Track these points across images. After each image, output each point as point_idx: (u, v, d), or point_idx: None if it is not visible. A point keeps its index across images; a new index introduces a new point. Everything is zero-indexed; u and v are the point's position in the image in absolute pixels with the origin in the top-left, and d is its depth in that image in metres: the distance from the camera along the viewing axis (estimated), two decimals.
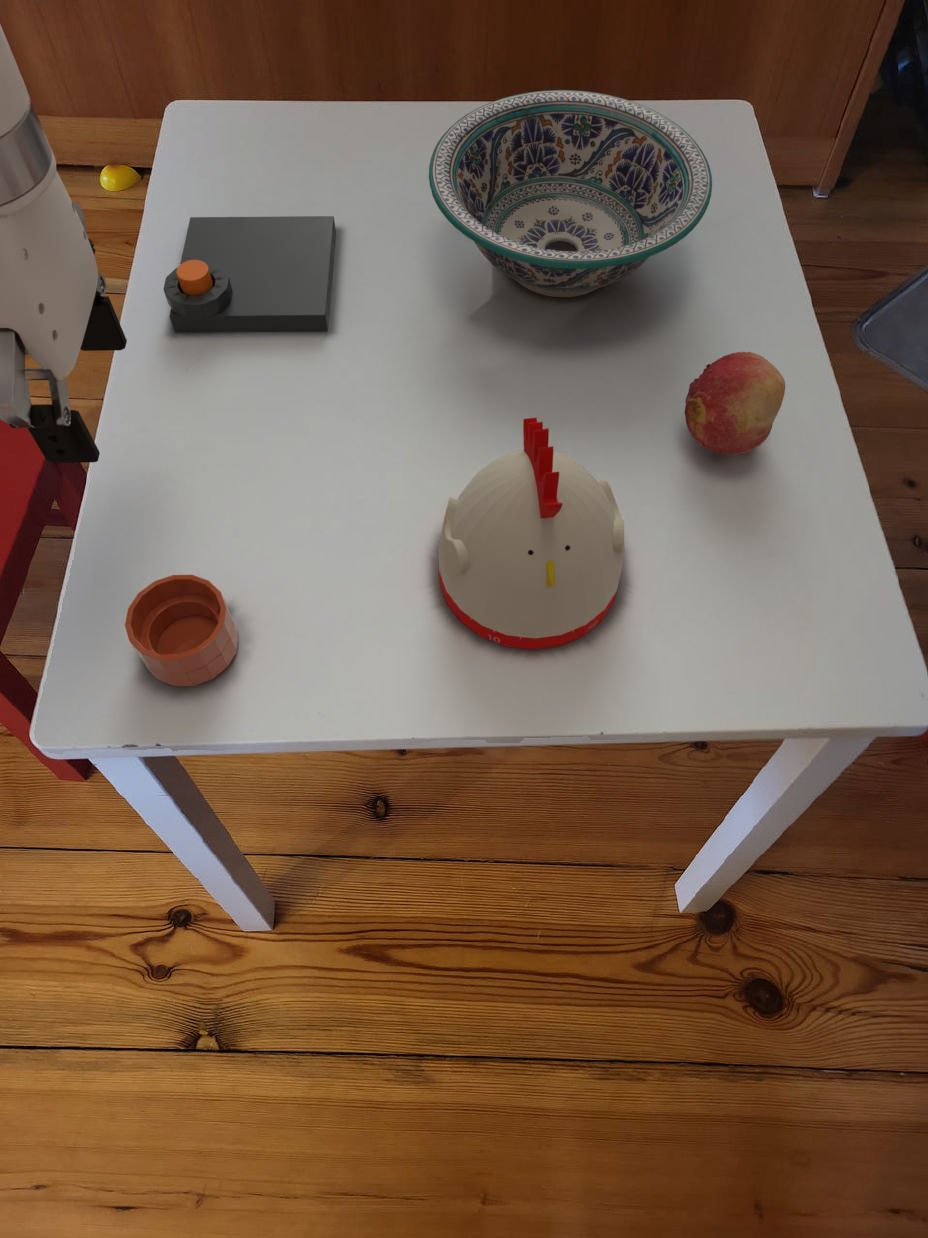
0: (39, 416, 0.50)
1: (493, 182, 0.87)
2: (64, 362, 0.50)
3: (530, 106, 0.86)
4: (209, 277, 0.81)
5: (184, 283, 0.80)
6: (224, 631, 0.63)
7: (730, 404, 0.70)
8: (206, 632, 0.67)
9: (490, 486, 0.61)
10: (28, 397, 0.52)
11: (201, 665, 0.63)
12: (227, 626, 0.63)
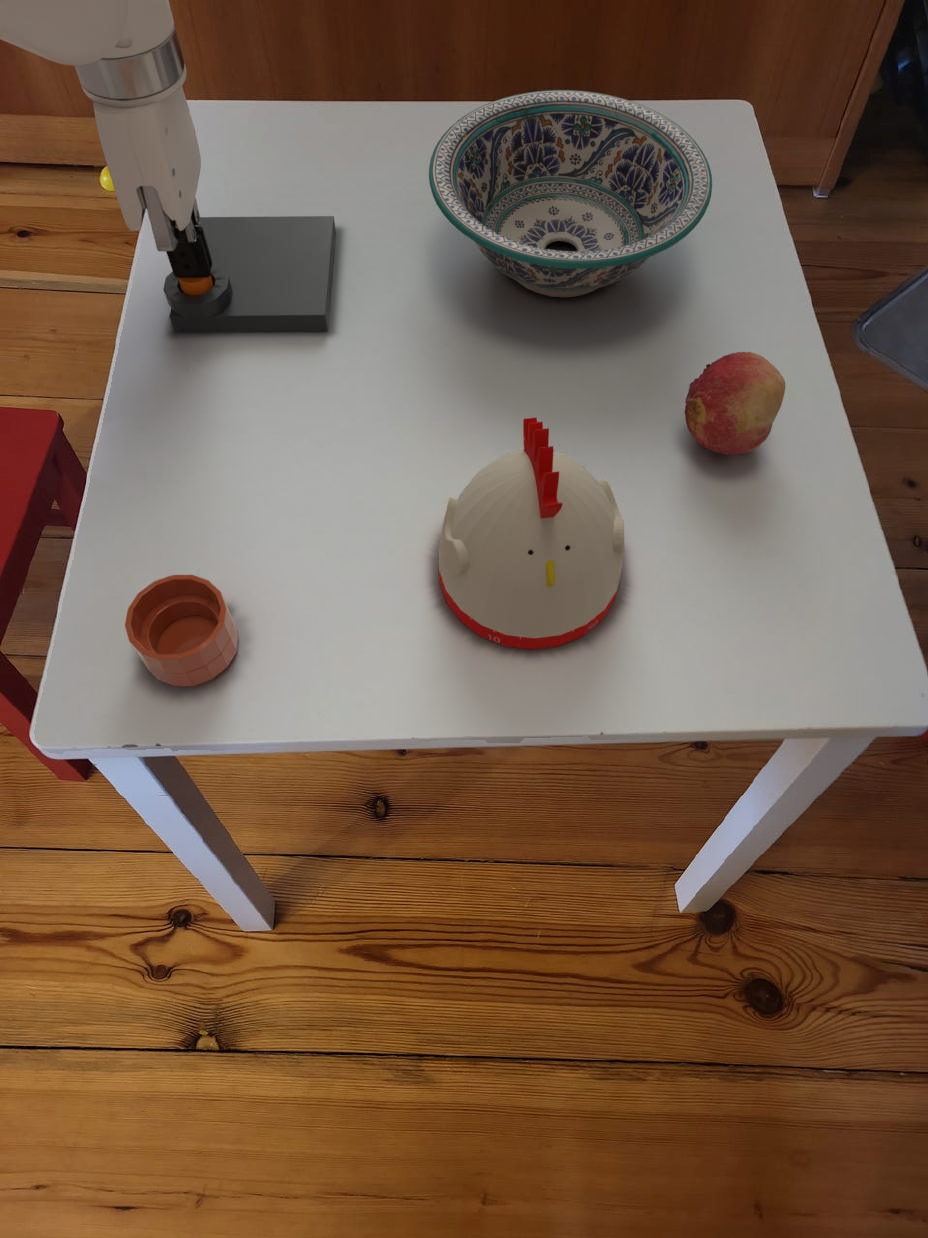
0: (180, 230, 0.74)
1: (493, 182, 0.87)
2: (184, 216, 0.71)
3: (530, 106, 0.86)
4: (209, 280, 0.81)
5: (185, 286, 0.80)
6: (224, 631, 0.63)
7: (730, 404, 0.70)
8: (206, 632, 0.67)
9: (490, 486, 0.61)
10: None
11: (201, 665, 0.63)
12: (227, 626, 0.63)
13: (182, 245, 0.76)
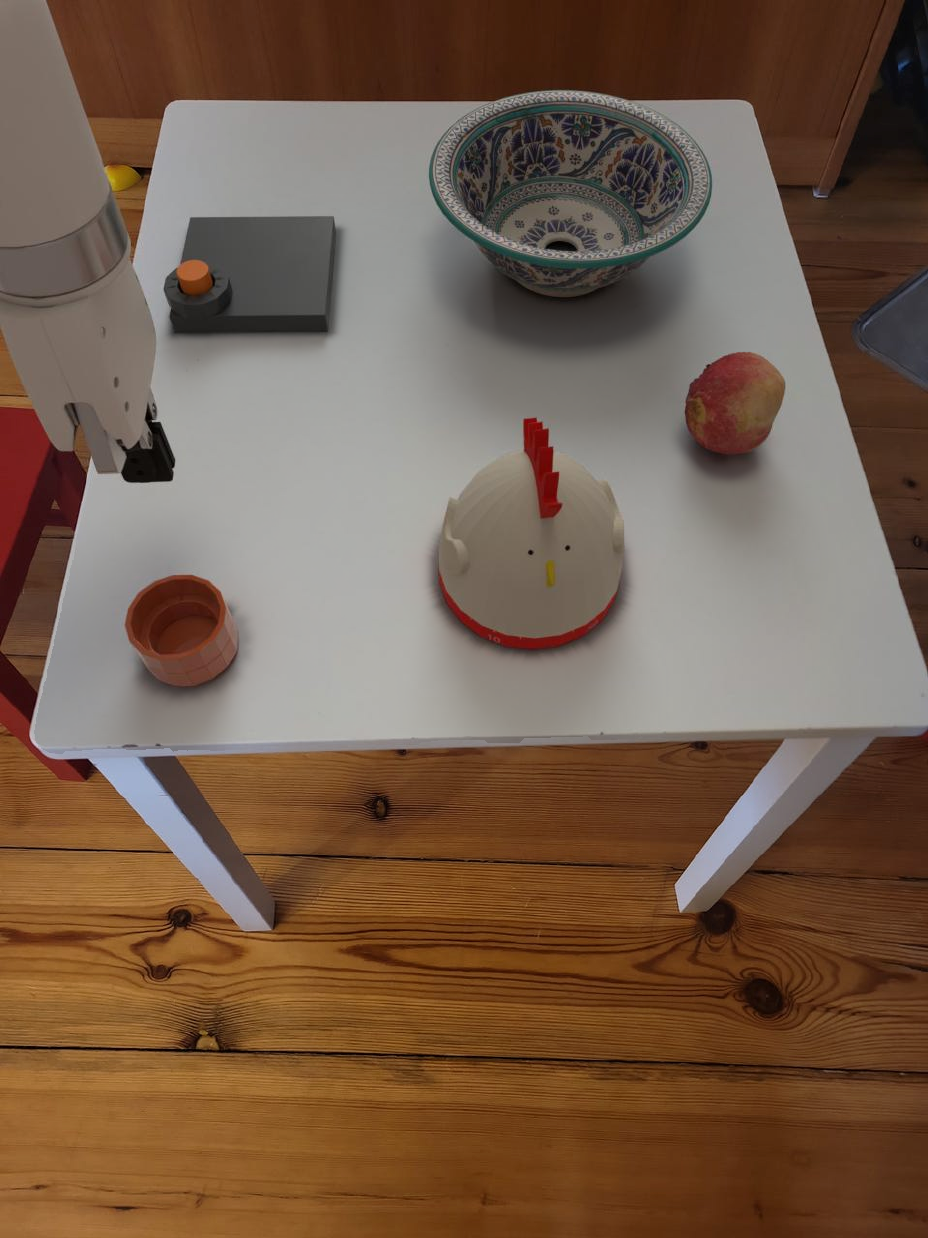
0: None
1: (493, 182, 0.87)
2: (134, 431, 0.51)
3: (530, 106, 0.86)
4: (209, 277, 0.81)
5: (184, 284, 0.80)
6: (224, 631, 0.63)
7: (730, 404, 0.70)
8: (206, 632, 0.67)
9: (490, 486, 0.61)
10: None
11: (201, 665, 0.63)
12: (227, 626, 0.63)
13: (133, 451, 0.56)
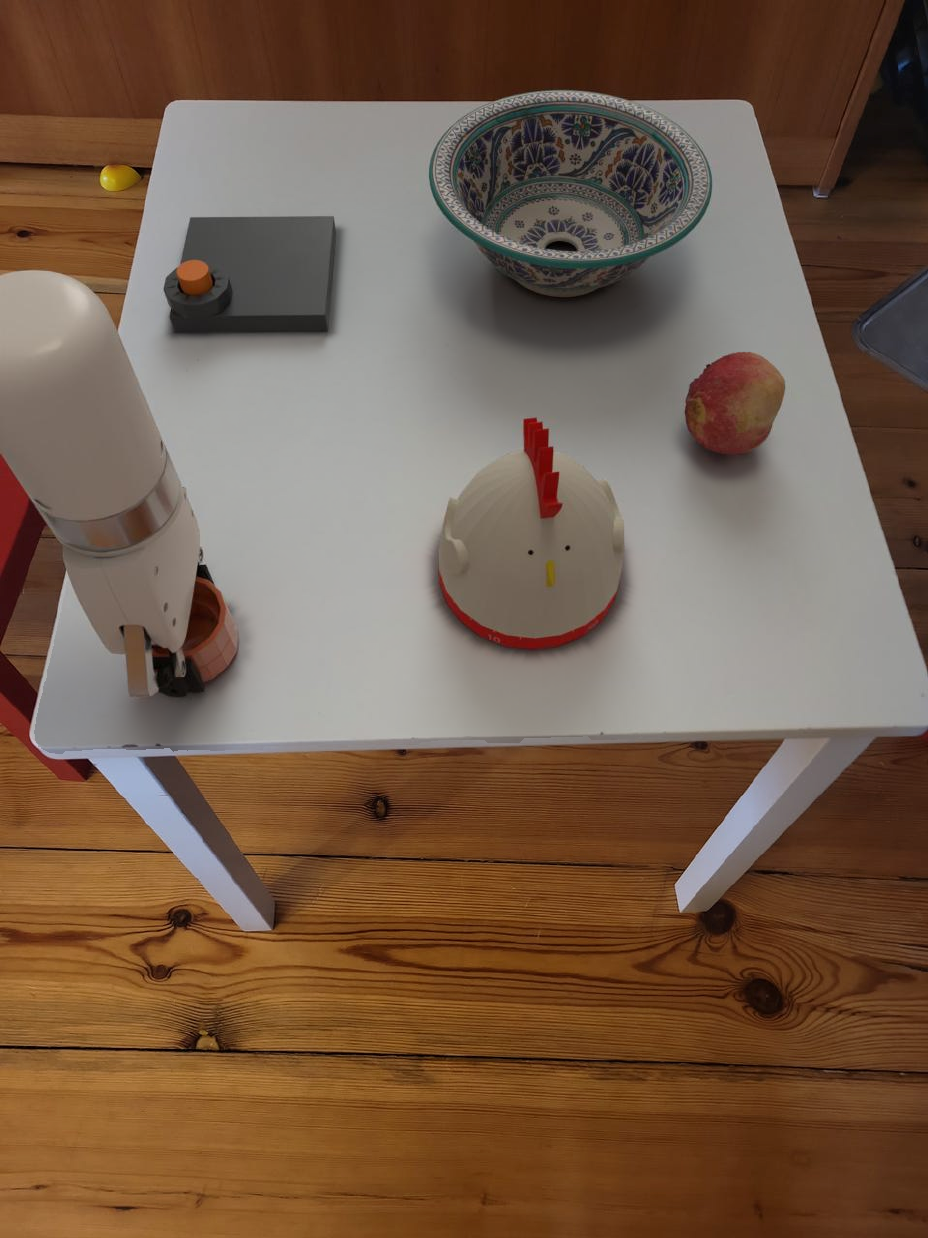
0: (164, 680, 0.57)
1: (493, 182, 0.87)
2: (179, 639, 0.57)
3: (530, 106, 0.86)
4: (209, 277, 0.81)
5: (184, 284, 0.80)
6: (224, 631, 0.63)
7: (730, 404, 0.70)
8: (207, 632, 0.67)
9: (490, 486, 0.61)
10: None
11: (201, 665, 0.63)
12: (227, 626, 0.63)
13: None
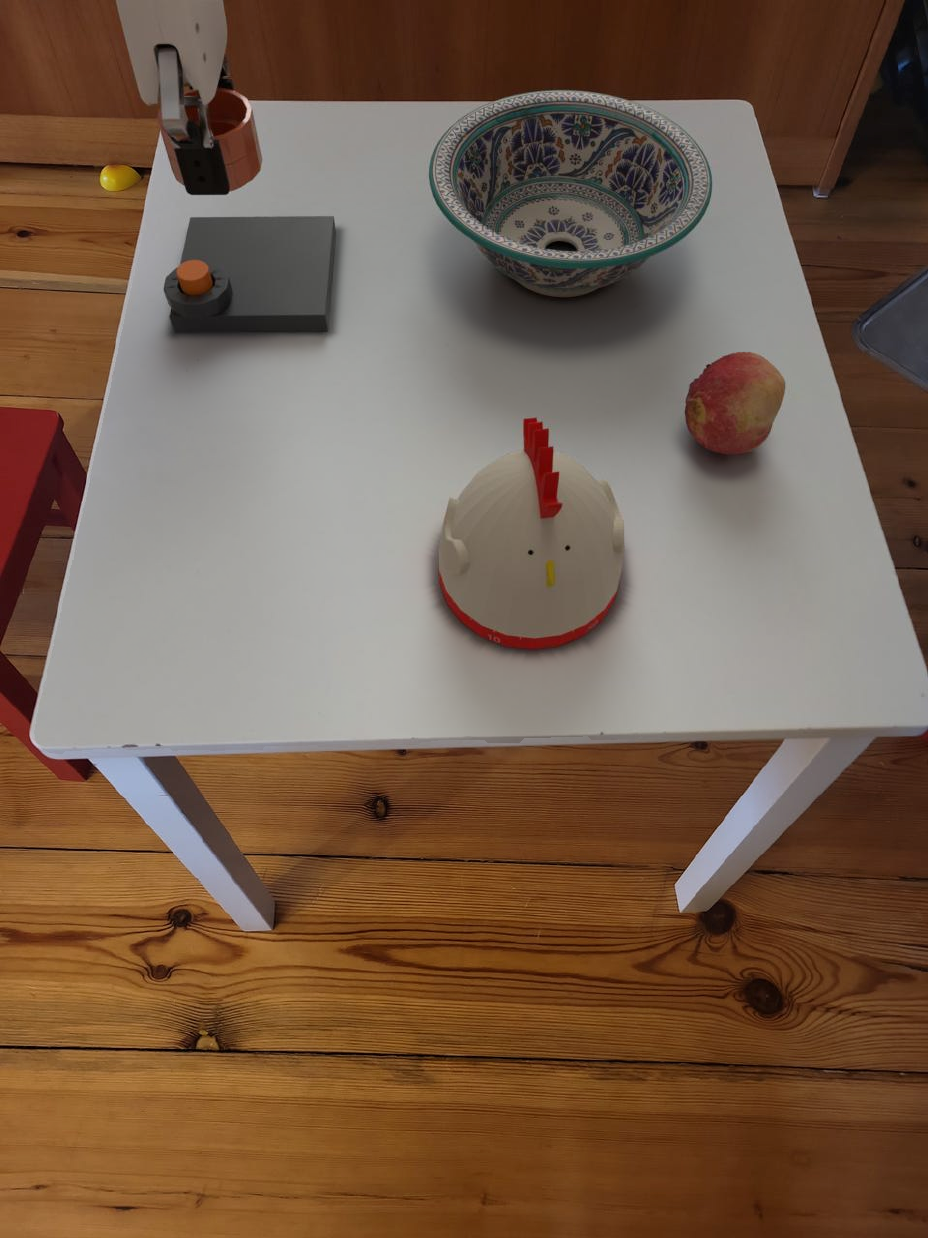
0: (194, 129, 0.61)
1: (493, 182, 0.87)
2: (209, 86, 0.61)
3: (530, 106, 0.86)
4: (209, 277, 0.81)
5: (184, 284, 0.80)
6: (250, 129, 0.67)
7: (730, 404, 0.70)
8: None
9: (490, 486, 0.61)
10: None
11: (228, 160, 0.67)
12: (253, 127, 0.67)
13: (196, 151, 0.64)
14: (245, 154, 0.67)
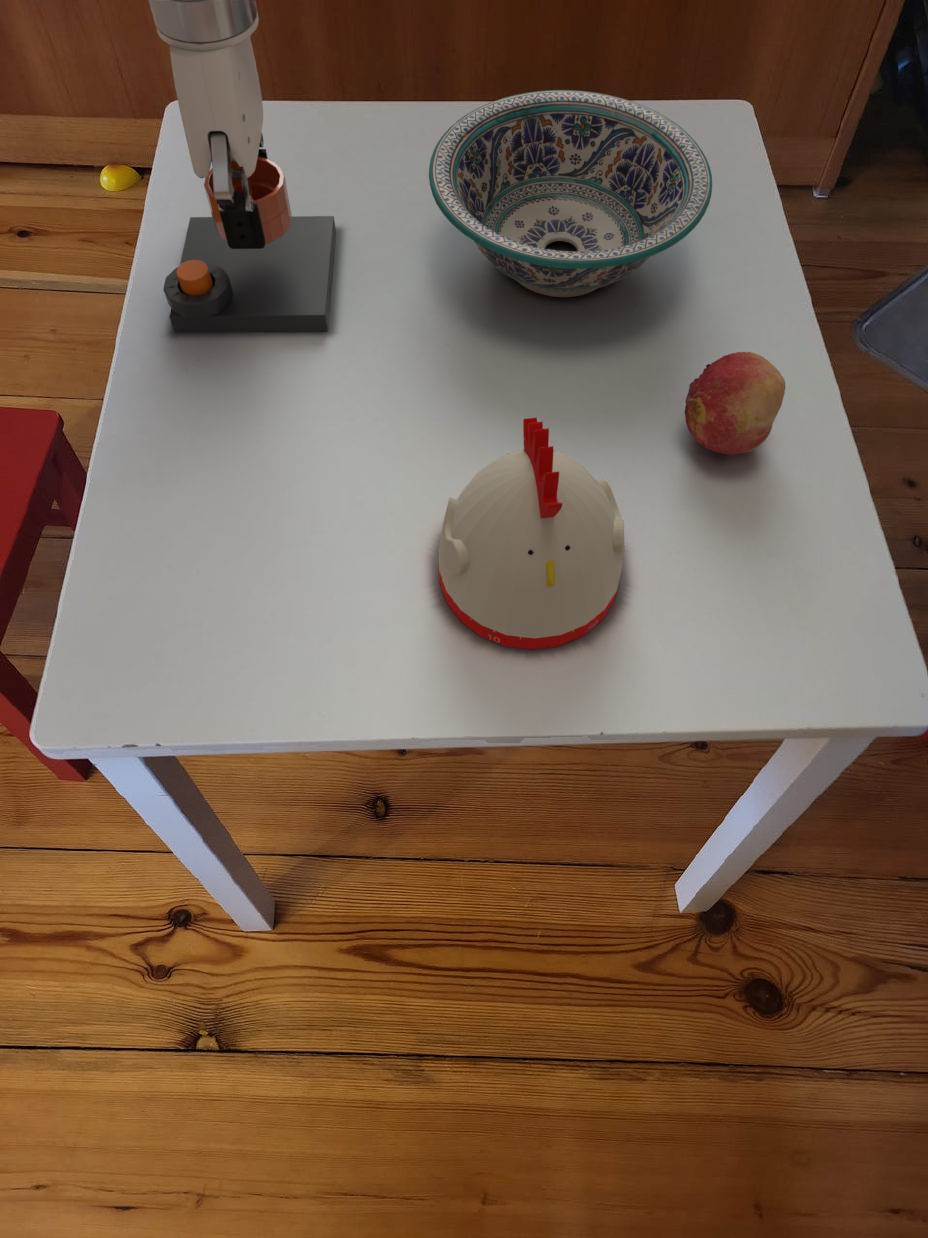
0: (239, 198, 0.73)
1: (493, 182, 0.87)
2: (251, 162, 0.72)
3: (530, 106, 0.86)
4: (209, 277, 0.81)
5: (184, 284, 0.80)
6: (283, 193, 0.79)
7: (730, 404, 0.70)
8: None
9: (490, 486, 0.61)
10: None
11: (264, 219, 0.78)
12: (285, 191, 0.79)
13: (239, 214, 0.76)
14: (278, 214, 0.79)
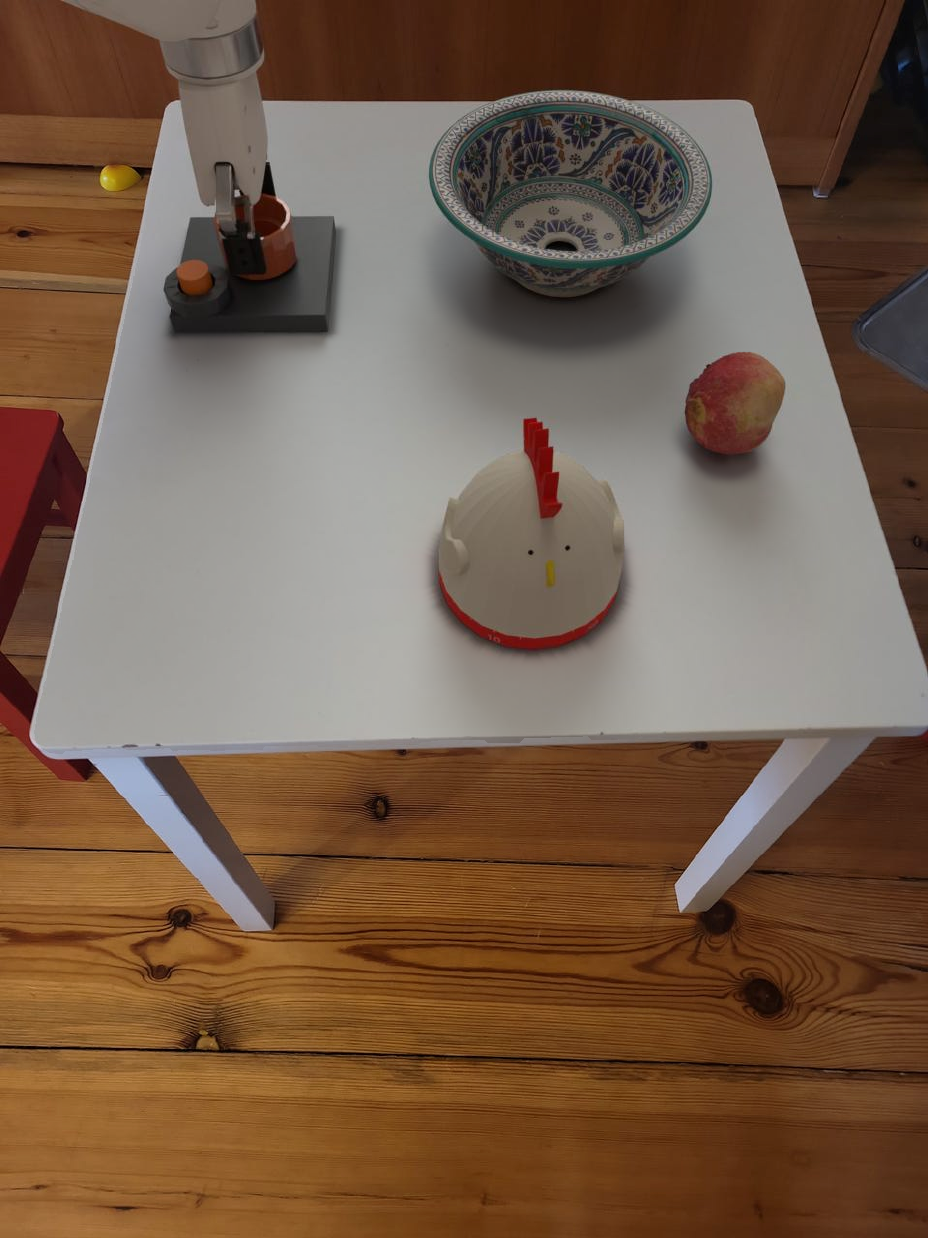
0: (241, 226, 0.74)
1: (493, 182, 0.87)
2: (256, 191, 0.75)
3: (530, 106, 0.86)
4: (209, 277, 0.81)
5: (184, 284, 0.80)
6: (289, 229, 0.82)
7: (730, 404, 0.70)
8: None
9: (490, 486, 0.61)
10: None
11: (271, 255, 0.81)
12: (291, 227, 0.82)
13: (241, 241, 0.77)
14: (285, 249, 0.82)
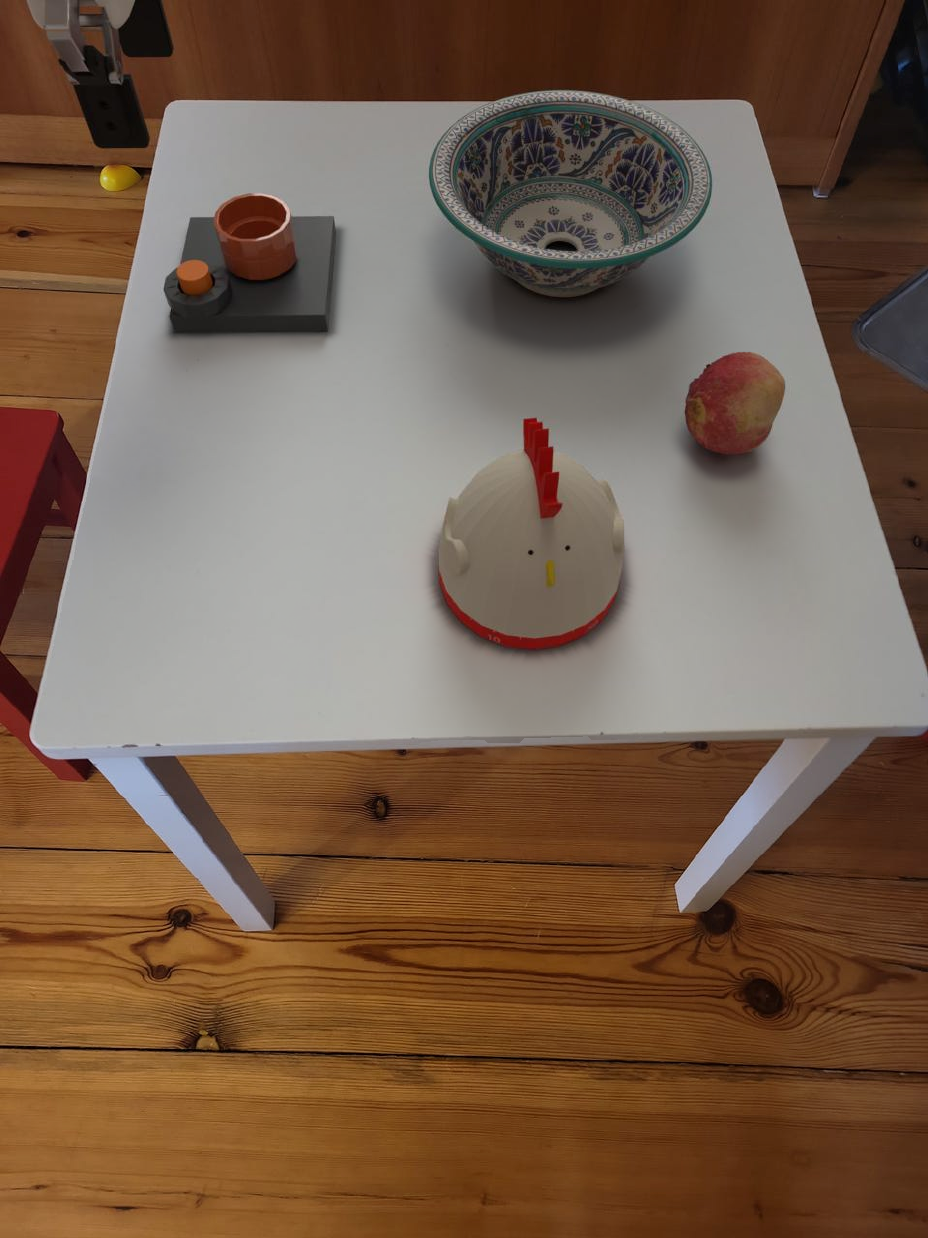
0: (93, 55, 0.47)
1: (493, 182, 0.87)
2: (119, 3, 0.48)
3: (530, 106, 0.86)
4: (209, 277, 0.81)
5: (184, 284, 0.80)
6: (289, 229, 0.82)
7: (730, 404, 0.70)
8: None
9: (490, 486, 0.61)
10: None
11: (271, 255, 0.81)
12: (291, 227, 0.82)
13: (101, 88, 0.50)
14: (285, 249, 0.82)
